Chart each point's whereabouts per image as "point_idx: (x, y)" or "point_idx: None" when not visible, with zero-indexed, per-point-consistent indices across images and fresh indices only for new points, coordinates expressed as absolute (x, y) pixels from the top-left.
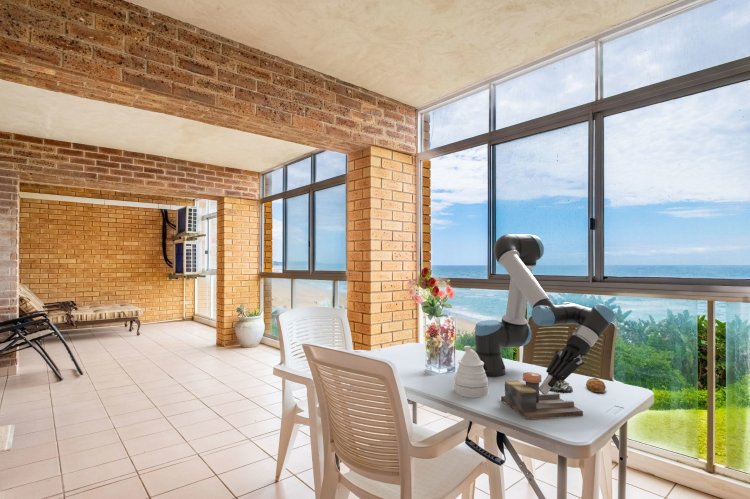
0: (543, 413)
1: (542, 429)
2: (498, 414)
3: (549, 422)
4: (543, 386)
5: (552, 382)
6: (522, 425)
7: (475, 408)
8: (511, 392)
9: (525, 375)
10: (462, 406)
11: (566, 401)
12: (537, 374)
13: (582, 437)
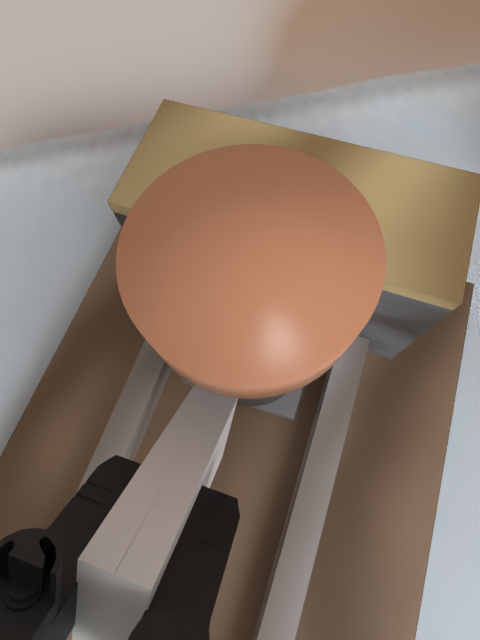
0: (97, 282)
1: (31, 182)
2: None
3: (53, 274)
4: (176, 412)
5: (77, 500)
6: (117, 142)
7: (395, 101)
8: None
9: (265, 149)
10: (445, 69)
11: None
12: (213, 328)
13: None
